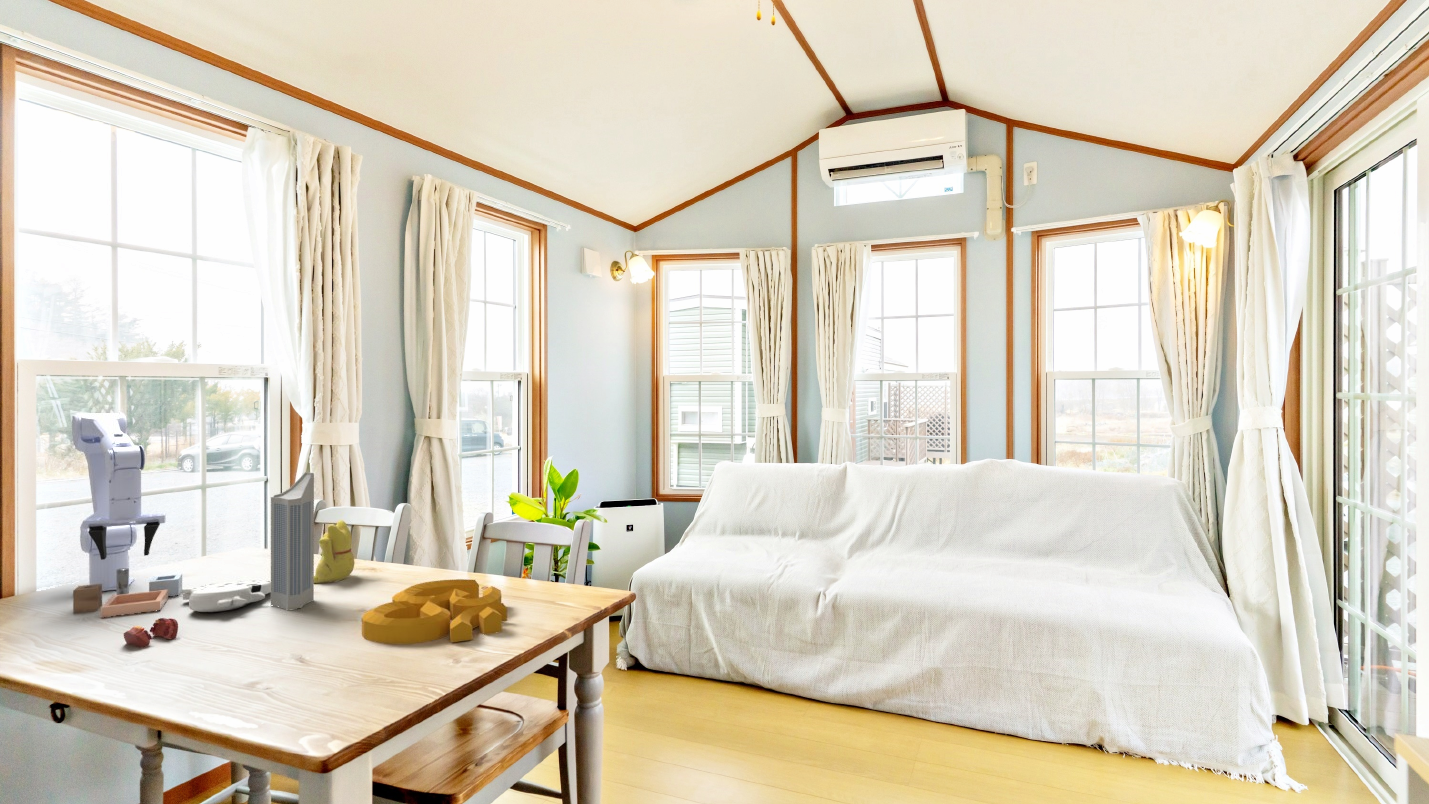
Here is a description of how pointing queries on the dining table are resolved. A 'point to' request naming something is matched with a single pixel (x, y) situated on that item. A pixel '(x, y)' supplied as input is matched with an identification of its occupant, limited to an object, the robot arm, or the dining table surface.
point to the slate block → (167, 584)
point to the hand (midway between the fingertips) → (125, 556)
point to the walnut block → (87, 598)
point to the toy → (225, 595)
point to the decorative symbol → (435, 613)
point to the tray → (134, 603)
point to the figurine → (335, 554)
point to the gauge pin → (122, 581)
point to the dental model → (161, 628)
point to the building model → (293, 544)
